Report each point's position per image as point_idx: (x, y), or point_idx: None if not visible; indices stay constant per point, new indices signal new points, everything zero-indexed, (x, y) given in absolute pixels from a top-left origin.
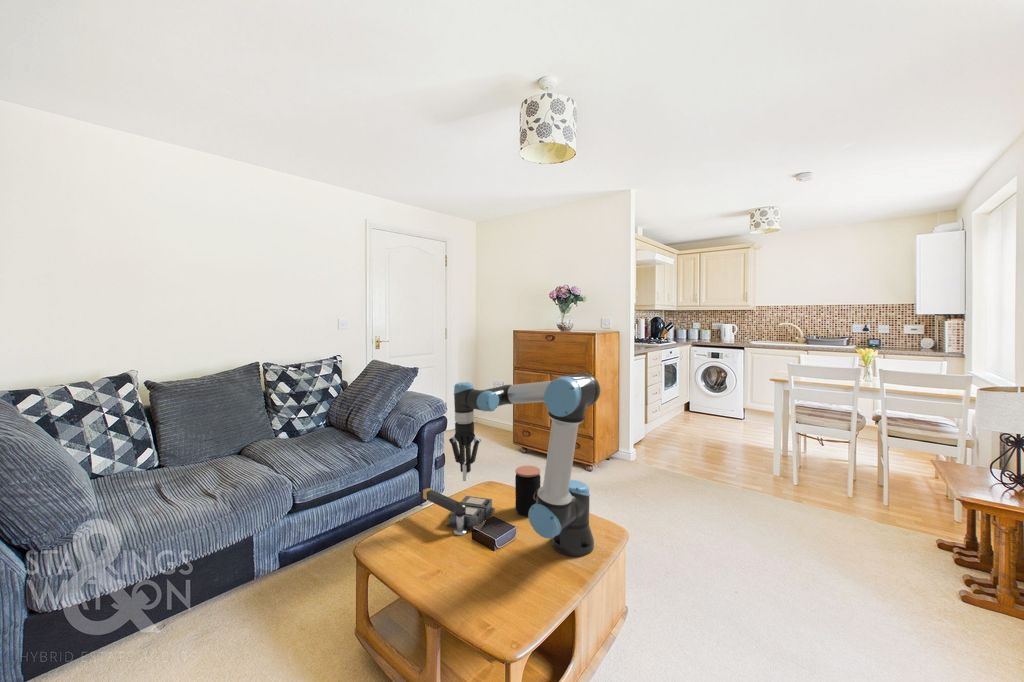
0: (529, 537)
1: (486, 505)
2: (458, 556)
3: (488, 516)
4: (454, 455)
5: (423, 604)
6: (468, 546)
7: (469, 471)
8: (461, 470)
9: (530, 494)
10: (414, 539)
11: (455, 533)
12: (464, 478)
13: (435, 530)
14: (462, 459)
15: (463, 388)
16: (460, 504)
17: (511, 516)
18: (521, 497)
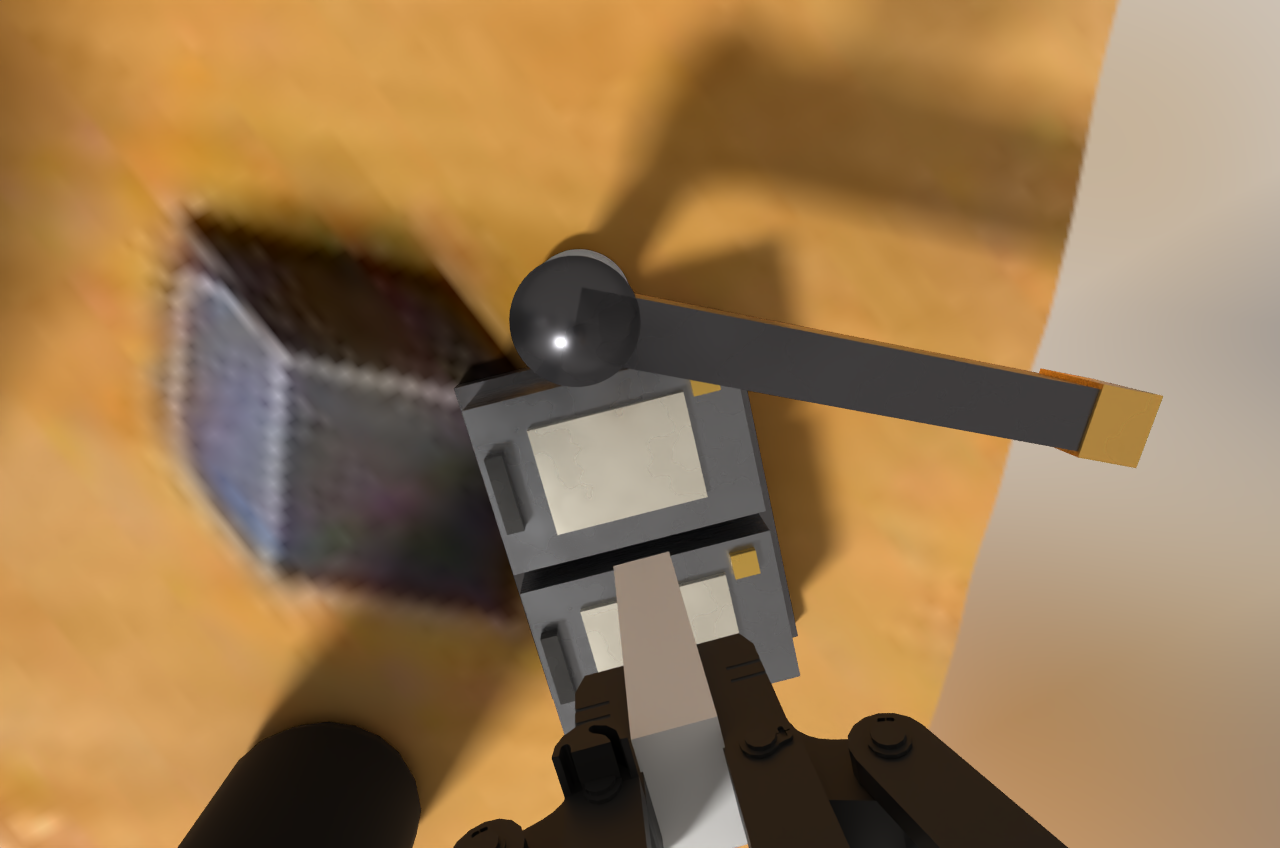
0: (87, 504)
1: (536, 627)
2: (365, 2)
3: (514, 575)
4: (1053, 843)
5: None
6: (393, 165)
7: (580, 696)
8: (734, 650)
9: None
10: (834, 25)
11: (588, 250)
12: (643, 576)
13: (770, 224)
14: (749, 829)
15: None
16: (571, 328)
17: (390, 677)
18: (255, 830)
